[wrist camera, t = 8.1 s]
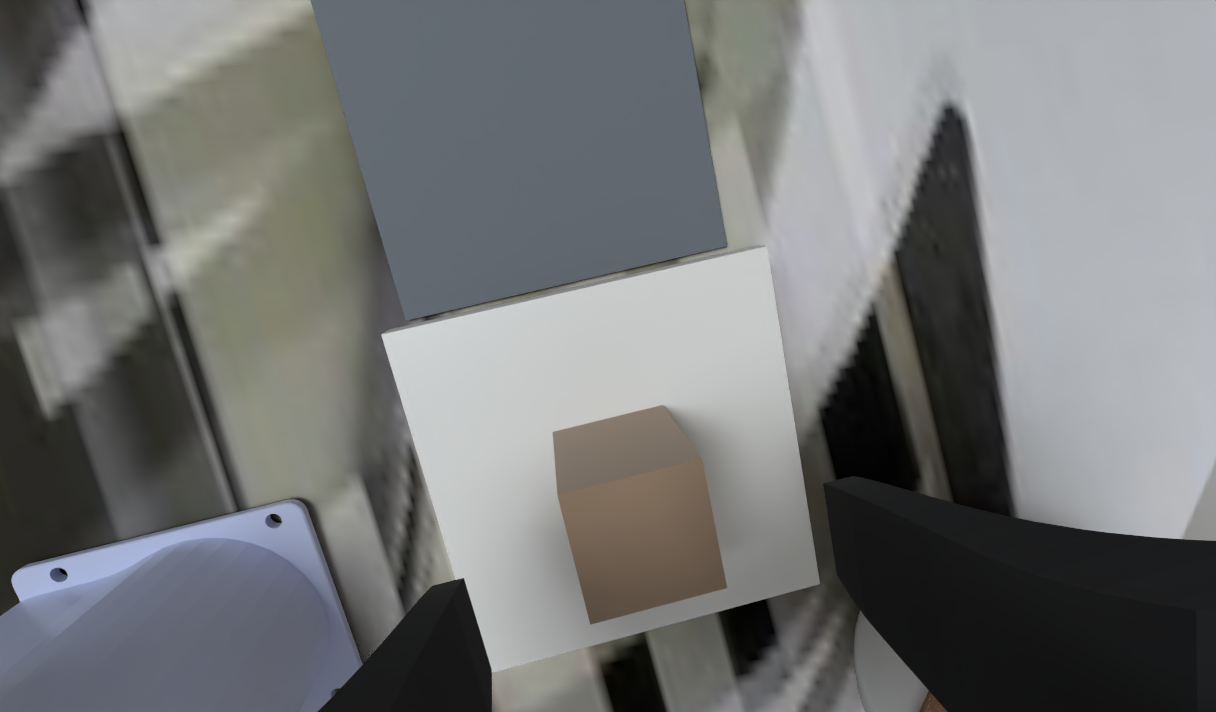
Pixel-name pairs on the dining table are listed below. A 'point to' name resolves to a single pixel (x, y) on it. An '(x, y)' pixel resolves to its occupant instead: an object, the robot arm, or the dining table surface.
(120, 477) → the dining table surface
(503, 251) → the mat
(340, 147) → the dining table surface
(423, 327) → the lid
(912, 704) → the lidded jar
